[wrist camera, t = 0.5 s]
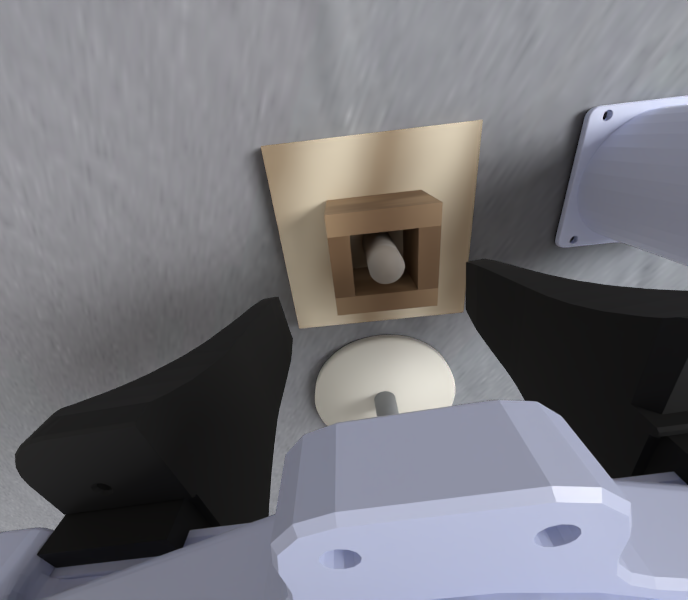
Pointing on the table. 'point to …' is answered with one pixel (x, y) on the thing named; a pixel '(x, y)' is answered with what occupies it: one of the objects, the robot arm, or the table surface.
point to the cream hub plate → (382, 379)
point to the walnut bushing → (418, 250)
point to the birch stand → (363, 180)
